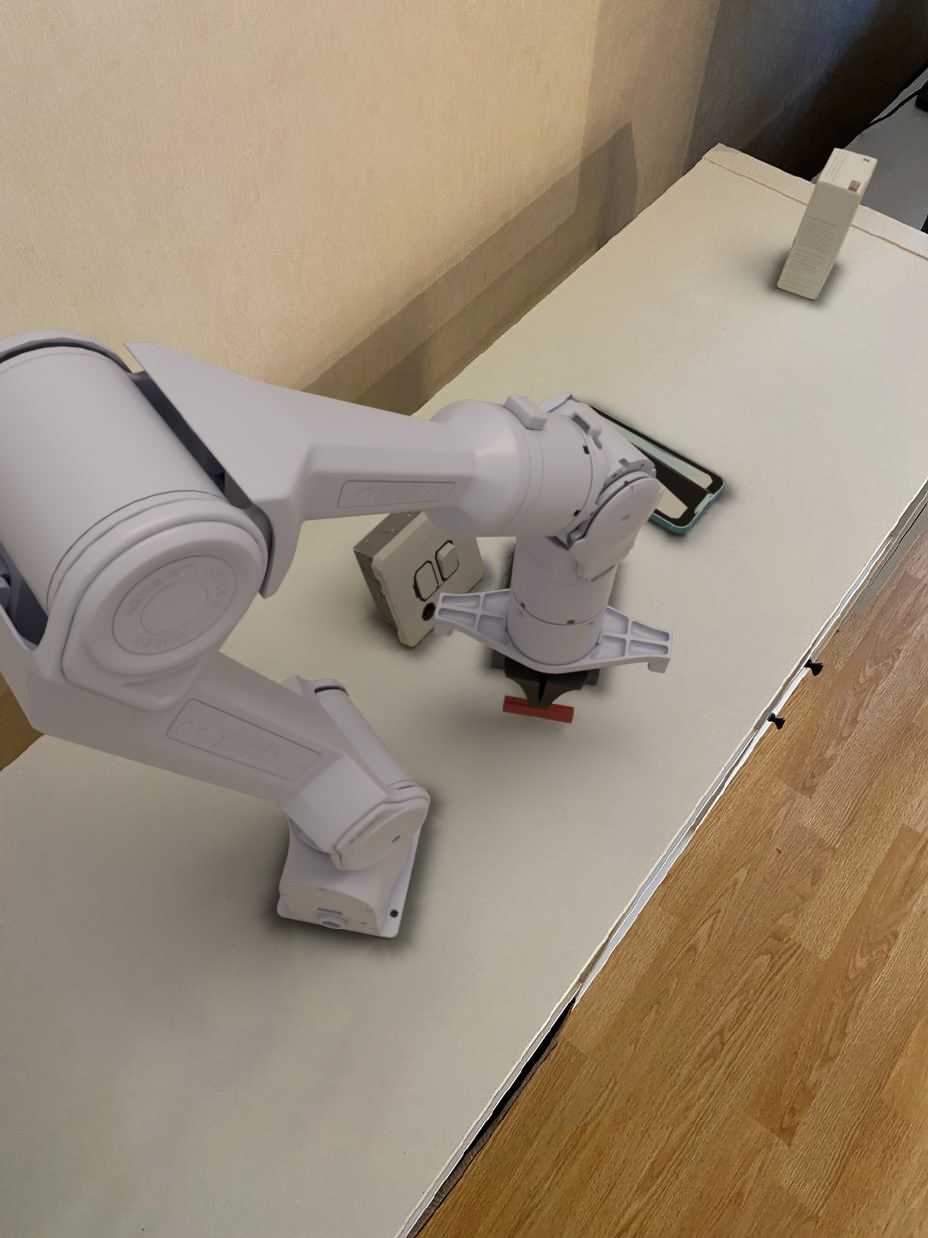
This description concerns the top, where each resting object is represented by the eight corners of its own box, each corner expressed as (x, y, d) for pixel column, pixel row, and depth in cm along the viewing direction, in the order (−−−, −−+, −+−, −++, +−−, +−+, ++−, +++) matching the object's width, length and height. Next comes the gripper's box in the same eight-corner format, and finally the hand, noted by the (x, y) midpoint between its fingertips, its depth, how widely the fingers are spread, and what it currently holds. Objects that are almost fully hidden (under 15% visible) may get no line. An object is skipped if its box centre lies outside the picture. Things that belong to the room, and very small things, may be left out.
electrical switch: (410, 653, 73) (396, 577, 66) (360, 620, 75) (341, 543, 68) (486, 575, 77) (481, 495, 70) (437, 546, 79) (427, 465, 72)
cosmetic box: (792, 254, 99) (832, 142, 89) (835, 268, 98) (880, 156, 88) (774, 289, 96) (813, 177, 86) (817, 304, 95) (862, 192, 85)
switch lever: (570, 725, 70) (572, 722, 67) (502, 713, 70) (502, 709, 68) (596, 566, 72) (598, 558, 69) (529, 555, 72) (530, 546, 70)
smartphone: (585, 399, 87) (730, 479, 81) (584, 407, 87) (728, 487, 82) (535, 446, 83) (683, 533, 78) (535, 454, 84) (681, 540, 79)
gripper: (692, 548, 57) (649, 663, 68) (450, 509, 58) (448, 629, 69) (684, 649, 53) (641, 753, 64) (425, 605, 54) (428, 715, 66)
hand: (540, 695), depth 67 cm, fingers closed
